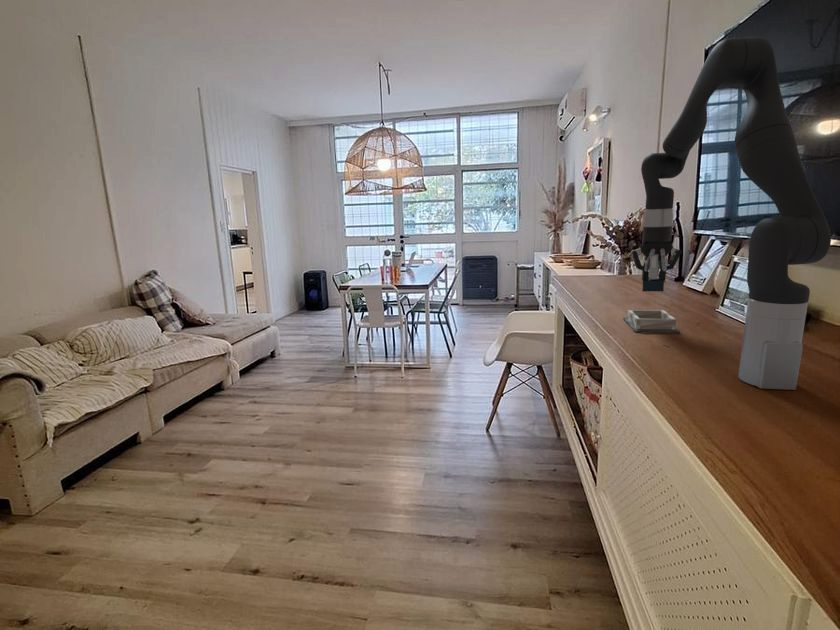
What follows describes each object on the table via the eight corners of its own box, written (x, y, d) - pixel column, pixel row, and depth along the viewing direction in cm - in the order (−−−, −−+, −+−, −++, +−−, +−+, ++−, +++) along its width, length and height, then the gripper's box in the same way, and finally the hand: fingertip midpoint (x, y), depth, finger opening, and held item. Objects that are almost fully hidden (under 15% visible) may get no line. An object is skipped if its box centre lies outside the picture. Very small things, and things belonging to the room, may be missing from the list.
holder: (680, 333, 125) (681, 321, 125) (634, 332, 128) (635, 320, 127) (663, 319, 140) (664, 308, 140) (623, 319, 143) (623, 308, 142)
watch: (663, 288, 134) (664, 251, 132) (663, 292, 127) (664, 254, 125) (642, 288, 136) (643, 252, 134) (642, 292, 130) (643, 255, 127)
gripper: (634, 226, 125) (630, 285, 129) (689, 224, 122) (683, 285, 126) (628, 225, 132) (625, 281, 136) (680, 223, 129) (675, 281, 133)
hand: (653, 283), depth 131 cm, fingers closed on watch, 3 cm apart
